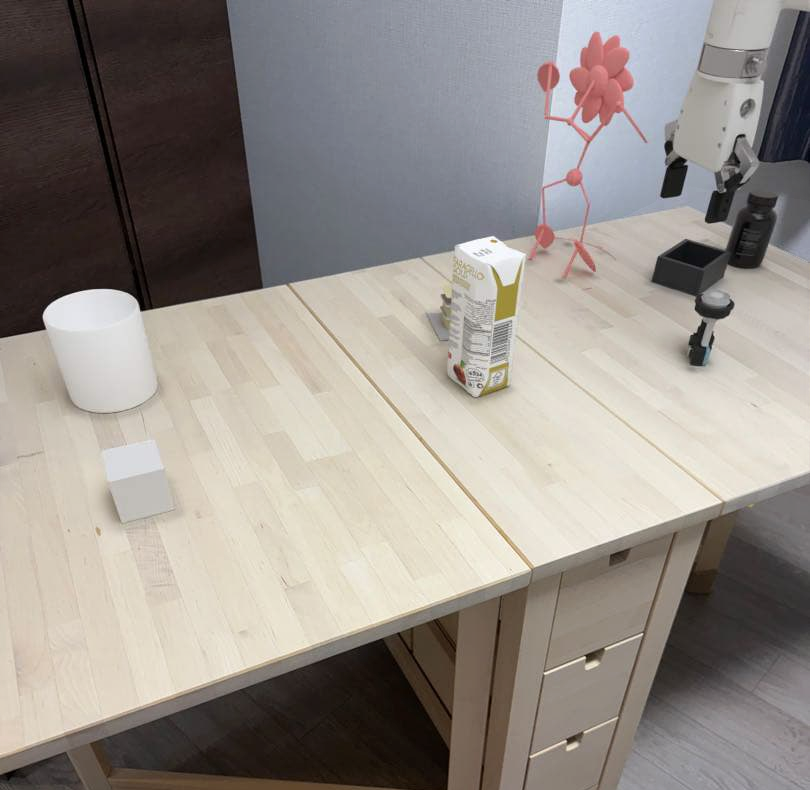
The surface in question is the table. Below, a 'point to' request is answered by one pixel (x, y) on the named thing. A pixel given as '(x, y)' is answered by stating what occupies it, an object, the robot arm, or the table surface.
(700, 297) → the push button
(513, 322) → the juice carton
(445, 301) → the stacked layers on plate
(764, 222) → the supplement bottle
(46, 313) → the cup
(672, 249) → the open box
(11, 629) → the table surface
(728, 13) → the robot arm
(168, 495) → the light grey cube
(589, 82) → the figurine
